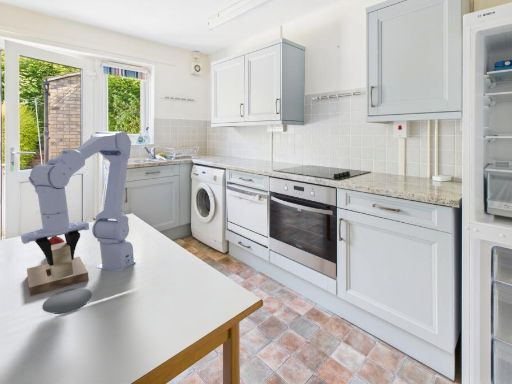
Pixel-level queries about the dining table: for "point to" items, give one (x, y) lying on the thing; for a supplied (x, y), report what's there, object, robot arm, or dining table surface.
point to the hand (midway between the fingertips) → (61, 261)
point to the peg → (61, 261)
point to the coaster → (67, 300)
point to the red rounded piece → (56, 240)
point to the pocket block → (45, 282)
